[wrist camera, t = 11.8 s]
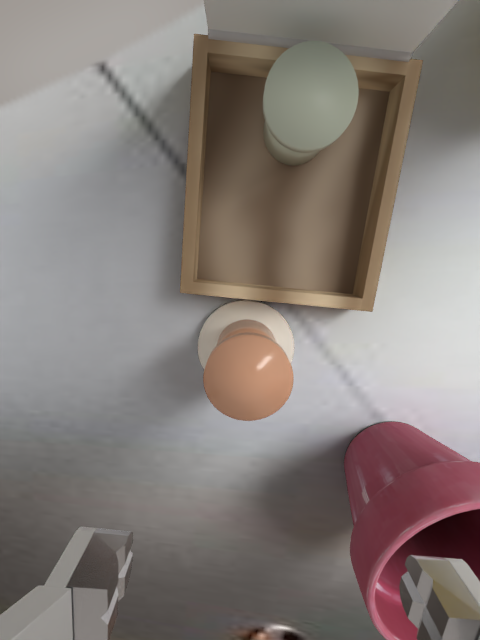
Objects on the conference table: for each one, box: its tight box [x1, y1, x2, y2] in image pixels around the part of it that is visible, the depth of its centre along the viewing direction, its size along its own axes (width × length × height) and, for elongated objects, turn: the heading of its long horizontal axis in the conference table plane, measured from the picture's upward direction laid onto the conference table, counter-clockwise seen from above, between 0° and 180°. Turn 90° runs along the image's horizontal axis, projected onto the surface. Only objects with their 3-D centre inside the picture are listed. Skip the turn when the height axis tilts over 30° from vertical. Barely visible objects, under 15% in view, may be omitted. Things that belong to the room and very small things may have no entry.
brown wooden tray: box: [180, 34, 423, 312], centre depth 25 cm, size 16×18×3 cm
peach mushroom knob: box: [203, 319, 293, 421], centre depth 25 cm, size 6×6×7 cm
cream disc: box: [198, 300, 294, 370], centre depth 29 cm, size 9×9×1 cm
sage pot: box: [263, 41, 359, 166], centre depth 22 cm, size 6×6×6 cm
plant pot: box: [344, 422, 480, 640], centre depth 26 cm, size 14×14×13 cm
